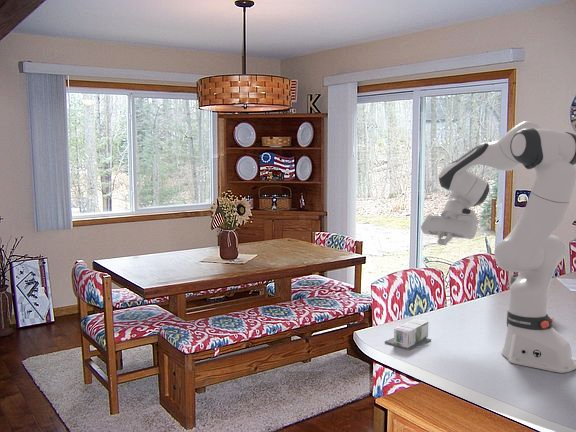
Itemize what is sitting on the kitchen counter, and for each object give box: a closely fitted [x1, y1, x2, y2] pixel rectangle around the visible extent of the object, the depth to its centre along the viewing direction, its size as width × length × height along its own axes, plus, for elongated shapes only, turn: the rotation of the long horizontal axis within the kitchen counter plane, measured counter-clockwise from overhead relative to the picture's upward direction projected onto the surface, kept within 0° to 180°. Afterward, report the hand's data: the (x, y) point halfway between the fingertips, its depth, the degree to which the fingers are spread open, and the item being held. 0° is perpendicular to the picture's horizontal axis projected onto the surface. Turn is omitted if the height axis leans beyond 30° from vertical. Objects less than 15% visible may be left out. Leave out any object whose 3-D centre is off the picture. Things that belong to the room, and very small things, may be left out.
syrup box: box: [393, 318, 429, 348], centre depth 197 cm, size 6×6×14 cm
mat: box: [384, 337, 432, 351], centre depth 198 cm, size 10×13×1 cm
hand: (441, 244), depth 210 cm, fingers closed
